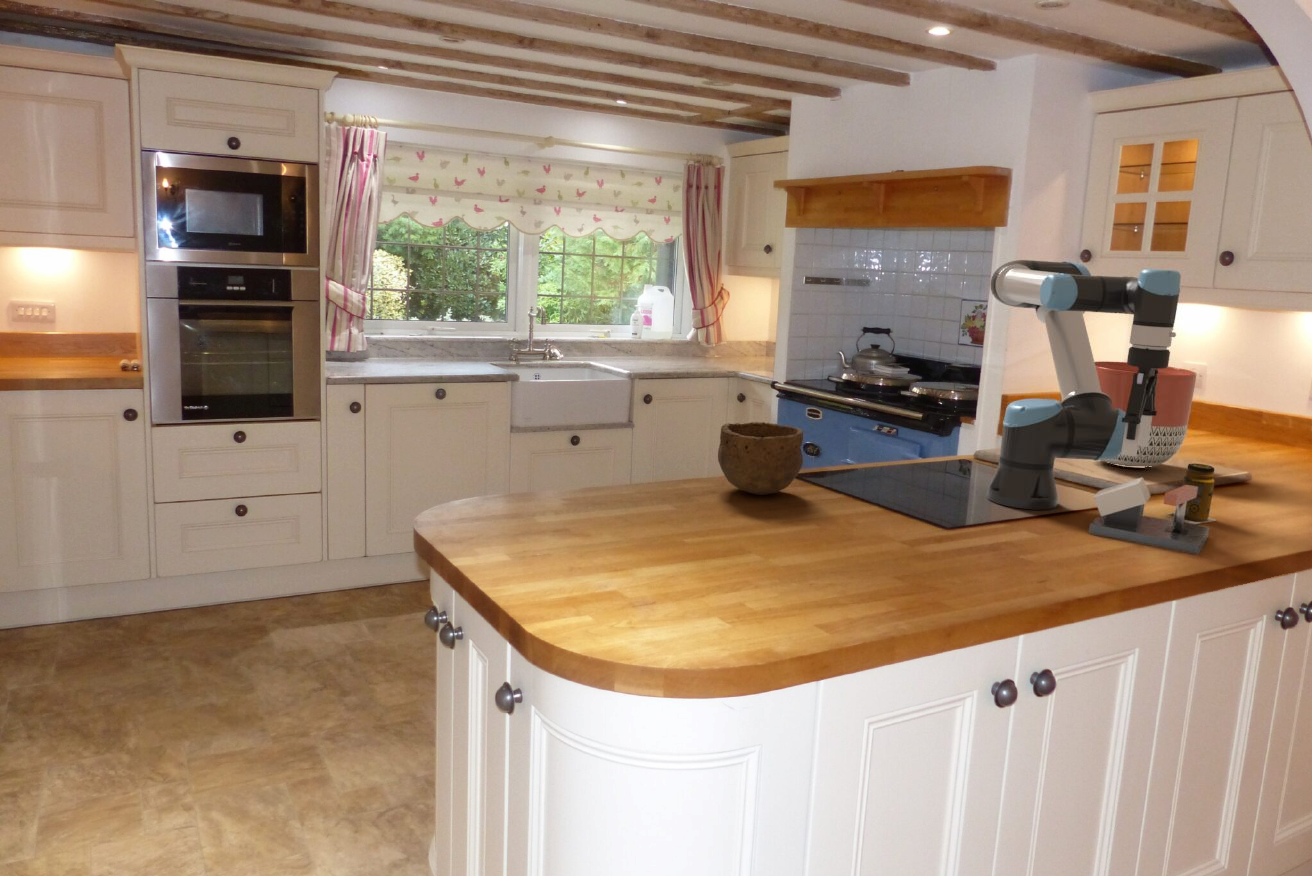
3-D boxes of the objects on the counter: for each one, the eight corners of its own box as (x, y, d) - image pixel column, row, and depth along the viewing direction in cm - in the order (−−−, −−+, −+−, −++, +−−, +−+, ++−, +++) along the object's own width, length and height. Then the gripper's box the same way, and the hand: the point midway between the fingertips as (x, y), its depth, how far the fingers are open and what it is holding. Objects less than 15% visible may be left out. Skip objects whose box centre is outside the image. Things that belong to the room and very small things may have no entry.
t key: (1170, 537, 198) (1177, 495, 197) (1158, 534, 200) (1165, 492, 198) (1191, 527, 207) (1197, 486, 205) (1180, 524, 208) (1186, 484, 206)
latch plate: (1088, 533, 206) (1093, 500, 205) (1104, 517, 219) (1109, 486, 218) (1197, 554, 195) (1203, 519, 194) (1207, 536, 208) (1213, 504, 207)
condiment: (1216, 520, 222) (1225, 467, 219) (1195, 525, 217) (1204, 471, 215) (1184, 512, 228) (1192, 460, 225) (1163, 516, 223) (1171, 463, 221)
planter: (1064, 465, 272) (1077, 366, 267) (1086, 450, 294) (1099, 358, 288) (1172, 482, 257) (1189, 378, 252) (1187, 466, 279) (1203, 369, 273)
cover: (1101, 516, 207) (1093, 497, 208) (1106, 508, 215) (1099, 490, 215) (1146, 503, 203) (1138, 483, 203) (1150, 495, 210) (1142, 477, 211)
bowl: (703, 496, 220) (707, 429, 217) (730, 478, 237) (734, 416, 234) (787, 508, 213) (792, 439, 210) (808, 490, 230) (813, 426, 227)
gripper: (1160, 353, 190) (1144, 462, 194) (1179, 345, 210) (1164, 444, 214) (1118, 349, 194) (1103, 456, 198) (1140, 342, 214) (1126, 439, 218)
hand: (1134, 450), depth 206 cm, fingers open, 13 cm apart
